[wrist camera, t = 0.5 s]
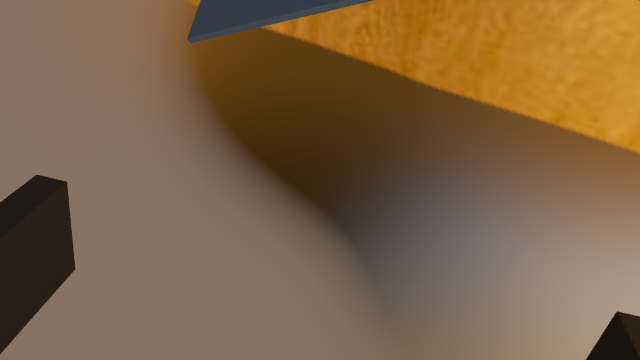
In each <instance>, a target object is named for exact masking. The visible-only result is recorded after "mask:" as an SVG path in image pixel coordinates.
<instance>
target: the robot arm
mask: <svg viewBox="0 0 640 360" xmlns="http://www.w3.org/2000/svg"><path fill="white" fill-rule="evenodd" d="M74 270H75V261H74V252H73V241H72V231H71V219H70V209H69V198H68V187H67V182H66V181H61V180H57V179H53V178H49V177H44V176H40V175H36V176H34V177H33V178H32V179H30V180H29V181H28V182H26V183H25V184H24V185H23V186H21V187H20V188H19V189H17V190H16V191H15V192H13V193H12V194H11V195H9V196H8V197H7V198H6V199H4V200H3V201H2V202H0V354H1V353H2V352H3V350H4V349H5V348H6V347H7V346H8V345H9V343H10V342H11V341H12V340H13V339H14V338H15V337H16V336H17V335H18V333H19V332H20V331H21V330H22V329H23V328H24V326H25V325H26V324H27V323H28V322H29V321H30V320H31V319H32V318H33V316H34V315H35V314H36V313H37V312H38V311H39V310H40V308H41V307H42V306H43V305H44V304H45V303H46V302H47V301H48V299H49V298H50V297H51V296H52V295H53V294H54V293H55V291H56V290H57V289H58V288H59V287H60V286H61V285H62V283H63V282H64V281H65V280H66V279H67V278H68V277H69V276H70V274H71V273H72V272H73V271H74ZM586 360H640V317H639V316H634V315H630V314H626V313H622V312H617V313H616V314H615V315H614V317H613V318H612V320H611V321H610V323H609V325H608V326H607V328H606V329H605V331H604V332H603V334H602V335H601V337H600V339H599V340H598V342H597V343H596V345H595V346H594V348H593V350H592V351H591V353H590V354H589V356H588V357H587V359H586Z"/></svg>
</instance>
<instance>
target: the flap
mask: <svg viewBox="0 0 640 360" xmlns="http://www.w3.org/2000/svg"><path fill="white" fill-rule="evenodd" d="M368 1H372V0H201V1H200V4H199V7H198V10H197V13H196V15H195V18H194V21H193V24H192V27H191V30H190V33H189V36H188V40H189V41H190V42H191V43H194V42H198V41H202V40H207V39H211V38H215V37H219V36H223V35H228V34H232V33H236V32H241V31H245V30H249V29H253V28H258V27H262V26H266V25H270V24H275V23H279V22H283V21H287V20H292V19H296V18H300V17H304V16H309V15H313V14H317V13H321V12H326V11H330V10H334V9H338V8H343V7H347V6H351V5H355V4H360V3H364V2H368Z"/></svg>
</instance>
